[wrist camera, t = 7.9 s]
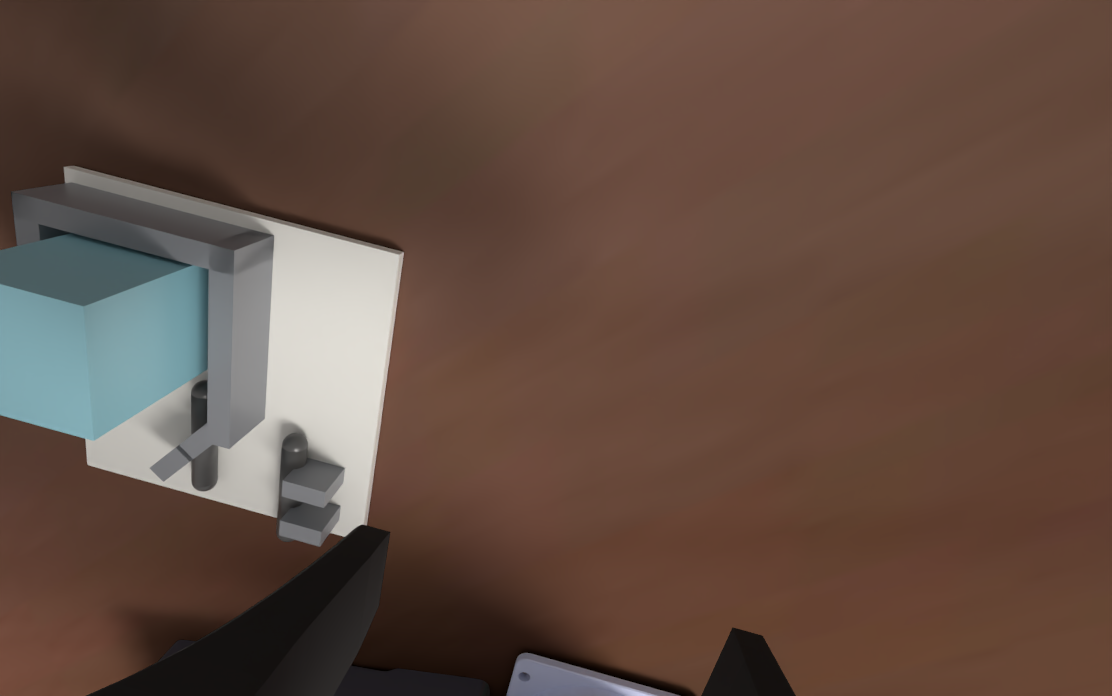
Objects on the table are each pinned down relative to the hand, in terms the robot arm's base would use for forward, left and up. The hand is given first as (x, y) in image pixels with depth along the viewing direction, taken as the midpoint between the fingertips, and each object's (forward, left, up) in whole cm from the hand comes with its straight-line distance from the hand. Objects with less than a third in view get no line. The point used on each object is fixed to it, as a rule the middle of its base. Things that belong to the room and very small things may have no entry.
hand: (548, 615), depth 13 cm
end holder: (0, +15, -10) cm, 18 cm away
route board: (-2, +13, -10) cm, 17 cm away
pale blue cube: (0, +15, -10) cm, 18 cm away
